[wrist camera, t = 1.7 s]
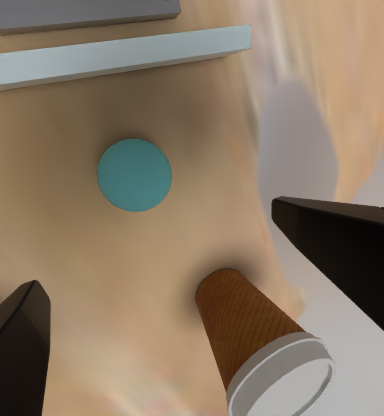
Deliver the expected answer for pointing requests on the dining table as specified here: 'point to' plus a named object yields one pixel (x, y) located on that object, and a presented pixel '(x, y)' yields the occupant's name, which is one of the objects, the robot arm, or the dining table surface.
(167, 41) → the wall
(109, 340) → the dining table surface
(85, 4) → the dish
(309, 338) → the disposable coffee cup
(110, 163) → the ball
